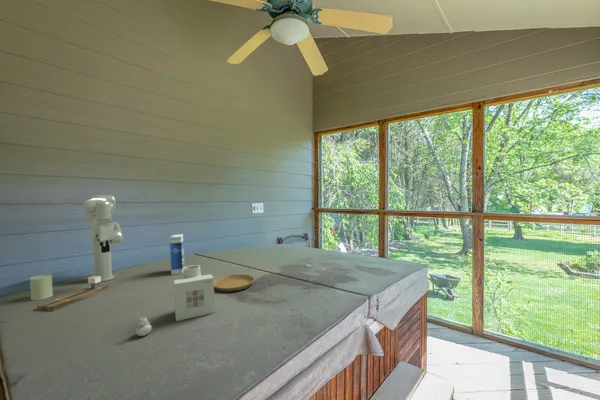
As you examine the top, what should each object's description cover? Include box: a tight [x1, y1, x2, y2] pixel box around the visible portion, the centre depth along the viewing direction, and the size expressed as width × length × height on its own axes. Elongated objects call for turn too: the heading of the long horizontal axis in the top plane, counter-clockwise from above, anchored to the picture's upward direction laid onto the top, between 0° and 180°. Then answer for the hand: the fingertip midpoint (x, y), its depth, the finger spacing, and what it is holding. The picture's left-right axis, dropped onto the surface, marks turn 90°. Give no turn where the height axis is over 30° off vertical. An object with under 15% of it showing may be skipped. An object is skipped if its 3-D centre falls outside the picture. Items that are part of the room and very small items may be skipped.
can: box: [29, 273, 54, 301], centre depth 153 cm, size 9×9×12 cm
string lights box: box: [169, 233, 186, 275], centre depth 196 cm, size 13×8×26 cm, turn 17°
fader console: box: [36, 284, 109, 312], centre depth 150 cm, size 10×30×2 cm, turn 168°
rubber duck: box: [135, 315, 153, 337], centre depth 109 cm, size 5×7×8 cm
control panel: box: [173, 264, 216, 322], centre depth 131 cm, size 16×19×20 cm
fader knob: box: [87, 275, 102, 288], centre depth 160 cm, size 5×4×6 cm
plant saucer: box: [214, 273, 255, 293], centre depth 164 cm, size 24×24×3 cm
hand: (105, 252), depth 168 cm, fingers closed
